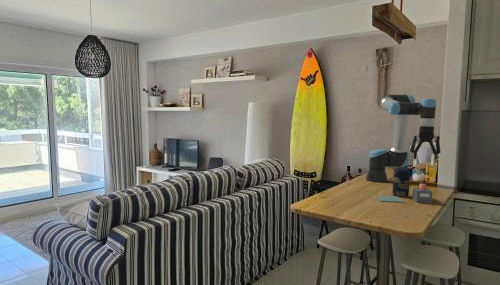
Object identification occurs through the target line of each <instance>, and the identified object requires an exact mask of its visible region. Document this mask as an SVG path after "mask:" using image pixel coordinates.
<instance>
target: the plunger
mask: <svg viewBox="0 0 500 285" xmlns="http://www.w3.org/2000/svg"><path fill="white" fill-rule="evenodd" d="M418 186H419V187H418V188H419V190H426V188H427V184H425V183H419V185H418Z"/></svg>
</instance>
